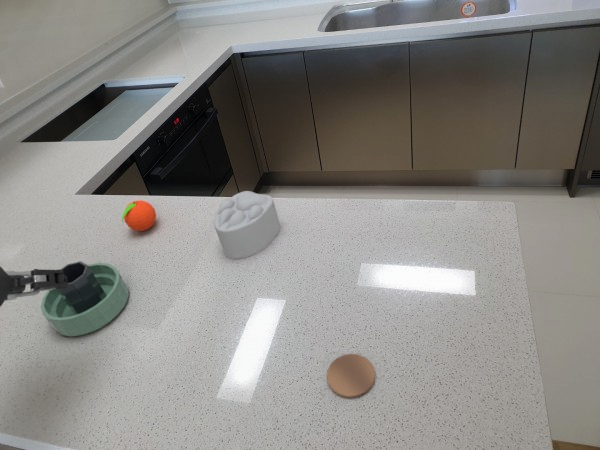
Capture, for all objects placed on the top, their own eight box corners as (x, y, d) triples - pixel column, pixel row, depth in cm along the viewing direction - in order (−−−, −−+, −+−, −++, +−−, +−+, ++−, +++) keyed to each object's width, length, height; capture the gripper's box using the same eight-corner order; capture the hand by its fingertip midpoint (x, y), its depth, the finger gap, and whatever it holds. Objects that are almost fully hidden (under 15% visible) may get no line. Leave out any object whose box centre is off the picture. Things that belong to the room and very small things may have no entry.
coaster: (359, 406, 62) (359, 404, 61) (318, 384, 66) (317, 382, 65) (383, 368, 66) (383, 366, 65) (343, 349, 69) (343, 347, 69)
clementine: (141, 243, 101) (128, 217, 97) (121, 236, 105) (108, 211, 101) (166, 221, 106) (155, 196, 102) (147, 216, 110) (135, 191, 105)
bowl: (80, 350, 79) (66, 331, 76) (41, 320, 87) (27, 302, 84) (144, 295, 87) (134, 276, 84) (103, 272, 95) (92, 254, 92)
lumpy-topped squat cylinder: (286, 224, 97) (278, 190, 92) (250, 264, 89) (239, 229, 84) (248, 215, 102) (237, 182, 97) (211, 252, 94) (197, 219, 89)
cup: (86, 322, 84) (63, 290, 78) (69, 311, 87) (46, 279, 82) (113, 300, 87) (93, 268, 82) (96, 290, 90) (75, 258, 85)
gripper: (-98, 330, 56) (-3, 319, 72) (13, 308, 55) (84, 302, 71) (-103, 269, 57) (-7, 271, 73) (7, 247, 56) (78, 254, 72)
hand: (38, 286), depth 72 cm, fingers open, 8 cm apart
